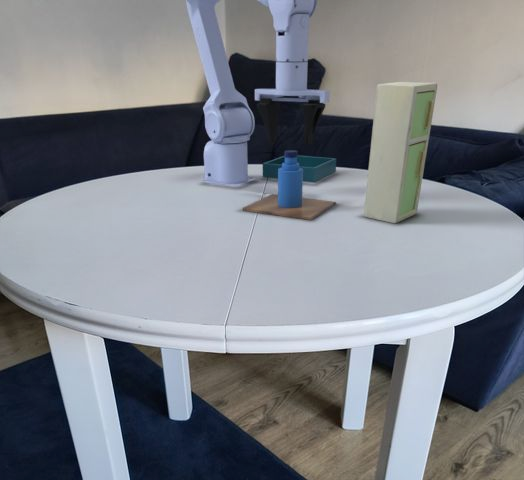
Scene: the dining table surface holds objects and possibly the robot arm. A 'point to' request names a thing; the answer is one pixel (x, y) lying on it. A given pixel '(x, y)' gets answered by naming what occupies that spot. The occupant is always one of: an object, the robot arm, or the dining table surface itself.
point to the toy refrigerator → (398, 149)
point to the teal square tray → (303, 167)
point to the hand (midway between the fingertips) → (290, 143)
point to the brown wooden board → (305, 211)
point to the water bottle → (290, 181)
